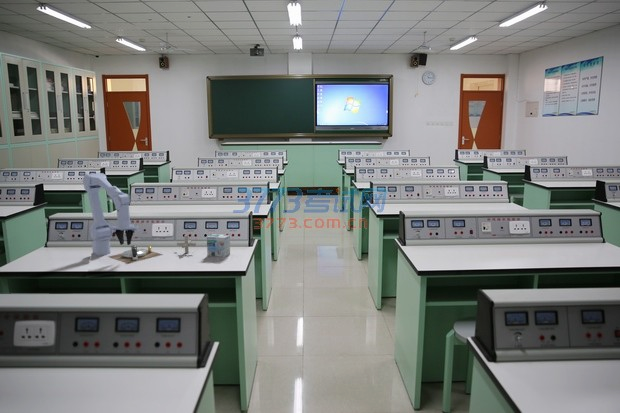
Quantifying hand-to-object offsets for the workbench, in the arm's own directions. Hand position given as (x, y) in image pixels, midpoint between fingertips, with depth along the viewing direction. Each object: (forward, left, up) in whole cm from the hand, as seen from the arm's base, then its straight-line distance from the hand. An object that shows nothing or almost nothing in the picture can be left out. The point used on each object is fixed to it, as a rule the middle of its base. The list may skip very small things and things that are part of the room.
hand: (125, 244), depth 224 cm
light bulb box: (+28, +37, -10) cm, 47 cm away
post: (-5, +7, -6) cm, 11 cm away
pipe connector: (+10, +29, -10) cm, 32 cm away
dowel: (-3, +15, -8) cm, 17 cm away
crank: (-3, +6, -8) cm, 11 cm away
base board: (-4, +7, -9) cm, 13 cm away
